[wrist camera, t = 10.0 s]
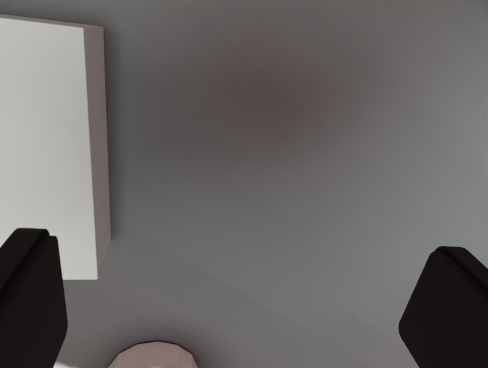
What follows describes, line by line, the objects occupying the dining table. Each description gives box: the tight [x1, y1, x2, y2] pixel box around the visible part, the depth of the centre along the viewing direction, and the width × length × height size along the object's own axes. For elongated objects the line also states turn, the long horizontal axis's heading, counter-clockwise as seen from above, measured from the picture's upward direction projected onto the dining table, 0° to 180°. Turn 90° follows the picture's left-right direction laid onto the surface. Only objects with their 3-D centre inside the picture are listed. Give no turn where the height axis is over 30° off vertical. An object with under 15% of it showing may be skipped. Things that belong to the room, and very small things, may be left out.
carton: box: [0, 14, 111, 280], centre depth 17 cm, size 8×12×4 cm
